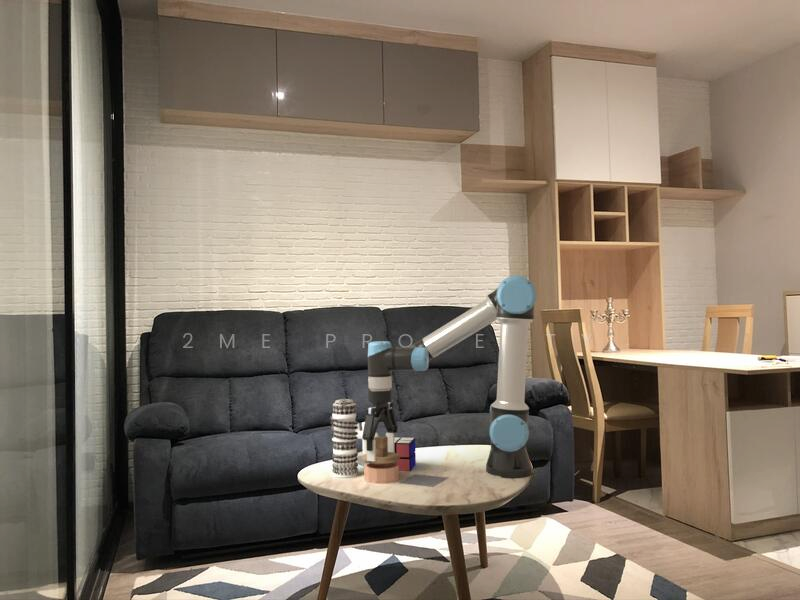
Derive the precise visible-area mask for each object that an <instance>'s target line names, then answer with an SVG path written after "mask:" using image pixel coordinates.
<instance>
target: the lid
mask: <svg viewBox="0 0 800 600" xmlns="http://www.w3.org/2000/svg"><path fill="white" fill-rule="evenodd" d="M374 440H375V453H376V461H375V462H374V461H367V454H365V455H363V456H362V460H363V462H366V463H371V464H388V463H394V462H397V461H399V460H400V455H399V454H397V453H392V452H388V437H386V435H384V436H383V435H378V436H377V437H375V438H374Z"/></svg>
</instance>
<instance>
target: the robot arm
mask: <svg viewBox="0 0 800 600" xmlns="http://www.w3.org/2000/svg"><path fill="white" fill-rule="evenodd" d="M536 300H537V291H536V286H535V284H533V282H532V281H531V280H530V279H528V278H527V277H525V276H522V275H518V274H517V275H509V276H508V277H505V278H504V279H503V280H502V281H501V282H500V283H499V285H498V286H497V288H496V289H495V290H493V291H492V292H491V293H488V294H487V295H486V297H485V299H484V300H482V302H480V303H479V304H477V305H475V306H473V307H472V308H470V309H468V310H467V311H465V312H464V313H462V314H461V315H459V316H457V317H456V318H454V319H452V320H450V321H449V322H447V323H445V324H444V325H442V326H441V327H439V328H438V329H435V331H433V332H431V333H429V334H428V335H426V336H424V337H423V338H422V339H419V340H418V341H416V342H415V343H412V344H411V345H410V346H408V347H406V346H405V347H394V346H392V342H390V341H388V340H386V341H385V340H384V341H382V340H381V341H380V340H379V341H378V340H377V341H370V342H369V343H368V346H367V347H368V348H367V370H368V371H367V373H368V374H367V375H368V379H367V382H368V389H369V390H368V402H369V403H371V404H372V405H371V407H366V411H365V413H366V414H365V420H364V422H365V425H364V430H363V436H362V439H363V440H366V441H367V461H374V462H375V461H376V453H375V440H374V437H375V433H377V430H378V426H379V424H380V422H381V421H382V422H383V424H384V427H385V430H386V432H385V437H388V452H392V453H394V437H395V433H398V429H399V428H398V421H397V418H396V413H395V410H394V407H395V406H394V402H392V401H393V391H392V388H393V385H392V383H393V380H392V371H393V372H398V371H399V372H402V371H403V372H422V371H423V372H425V371H427V370H428V369H429V366H430V364H429V363H430V361H431V360H433V359H434V358H436V357H437V356H439V355H441V354H442V353H444V352H445V351H447V350H449V349H451V348H452V347H454V346H456V345H457V344H459V343H460V342H462V341H464V340H465V339H467V338H469V337H471V336H472V335H474V334H476V333H477V332H479V331H480V330H482V329H484V328H485V327H487V326H489V325H491V324H492V323H494V322H495V321H498V322H499V324H500V332H499V347H498V348H499V349H498V350H499V351H498V363H497V367H498V368H497V369H498V370H497V384H496V385H497V387H496V399H495V401H493V402H492V403H491V404H490V406H489V415H490V416H489V422H490V426H489V431H488V432H489V433H488V434H489V438H490V450H489V455H488V458H487V460H486V464H485V471H486V473H487V474H489V475H491V476H497V477H500V478H508V479H509V478H513V479H514V478H523V477H528V476H531V475H532V474H533V466H532V462H531V459H530V456H529V454H528V451H527V441H528V439H529V436H530V430H529V414H530V412H529V411H530V407H529V406H528V404H526V403H525V397H526V379H527V376H526V375H527V374H526V373H527V359H528V341H529V326H530V324H531V323H532V322H533V321H534V318H535V306H536V305H535V304H536ZM362 439H361V440H362ZM363 440H362V441H363Z"/></svg>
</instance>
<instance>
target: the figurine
mask: <svg viewBox="0 0 800 600" xmlns="http://www.w3.org/2000/svg"><path fill="white" fill-rule="evenodd" d="M364 425H365V421H363V422H361V425H360V423H359V422H358V424H357V425H355V426H357V427H358V428H357V429H355V431H356V432H357V433H358V434H357V435H356V437H357V440H359V439H360V440H362V451H360V452H356V453H357V454H358V455H357V456H356V457H357V458H358V460H357V461H356V462H357V463H358V464H359V465H358V466H364V464H366V462H363V460H362V456H363V455H365V454H367V441H366V440H363V439H362V436H363V430H364ZM360 427H362V429H361V428H360ZM377 436H379V434H378V432H376V433H375V437H377ZM375 437H374V438H375Z"/></svg>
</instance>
